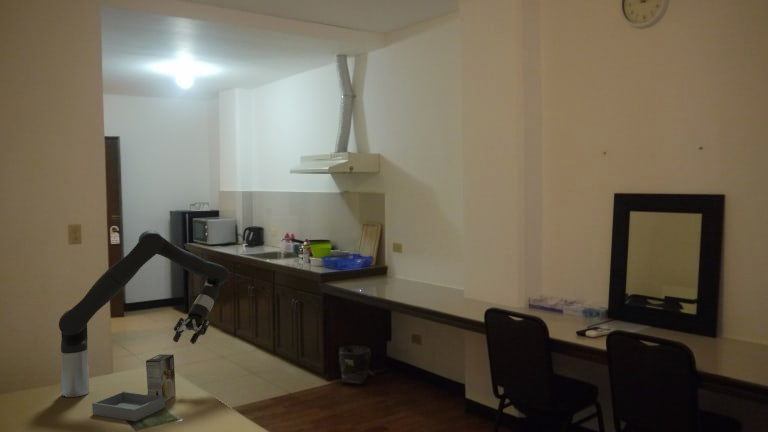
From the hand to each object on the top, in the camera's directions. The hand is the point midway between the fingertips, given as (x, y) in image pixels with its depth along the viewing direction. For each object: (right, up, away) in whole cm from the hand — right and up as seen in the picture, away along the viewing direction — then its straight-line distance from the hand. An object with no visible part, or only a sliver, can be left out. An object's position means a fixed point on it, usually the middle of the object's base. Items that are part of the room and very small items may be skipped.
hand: (183, 342), depth 241 cm
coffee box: (-4, -20, -11) cm, 23 cm away
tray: (-12, -20, -23) cm, 33 cm away
